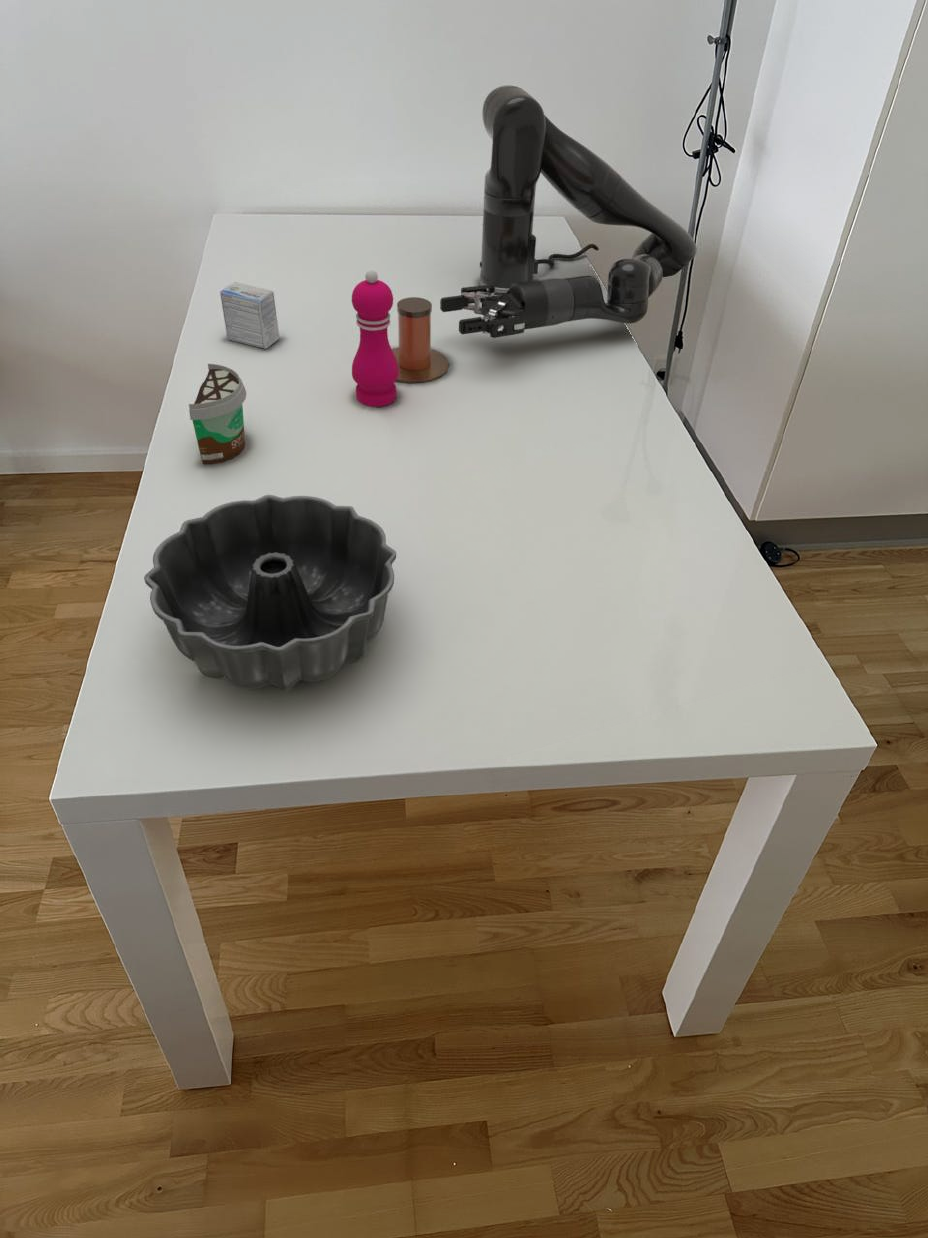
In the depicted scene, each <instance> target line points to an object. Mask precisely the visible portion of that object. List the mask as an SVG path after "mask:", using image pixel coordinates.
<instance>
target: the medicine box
mask: <svg viewBox="0 0 928 1238" xmlns="http://www.w3.org/2000/svg"><path fill="white" fill-rule="evenodd" d="M274 292H275V291H273V290H270V289H267V288H263V287H259V286H254V285H249V284H246V283H241V282H236V281H235V282H233V283H231V284H228V285H227V286H226V287H224V288H223V289H222V290H220V291H219V295H220V299H221V300H220V301H221V309H222V313H223V321H224V326H225V333H226V338H227V340H229V341H233V342H237V343H242V344H245V345H249V346H253V347H257V348H261V349H265V350H267V349H268V348H270V347H271V346H272V345H273V344H275V343H276V342H277V341H279V340H280V330H279V323H278V316H277V308H276V299H275V293H274Z"/></svg>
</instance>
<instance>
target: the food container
mask: <svg viewBox="0 0 928 1238" xmlns="http://www.w3.org/2000/svg"><path fill="white" fill-rule="evenodd" d="M207 368H208V372H207V375H206V377H205V379H204V380H203V382H202V383H201V385H200V386H199V390H198V393H197V396H196V398H195V400H194V403H189V404H188V407H189V409H188V411H189V420H190V421H192V425H193V429H194V433H195V437H196V442H197V446H198V450H199V455H200V459H201V463H202V465H214V464H221V463H224V462H228V461H230V460H233V459H234V458H236V457H238V456H239V455H241V454H242V452H244V450H245V447H246V437H245V436H246V435H245V422H244V406H243V403H244V402H245V400H246V398H247V390H246V387H245V385H244V383H243V380H242V378H241V377H240V376H239V373H237V372H236V370H234V369H232V368H230V367H228V366H225V365H221V364H215V363H207Z"/></svg>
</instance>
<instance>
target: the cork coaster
mask: <svg viewBox="0 0 928 1238" xmlns="http://www.w3.org/2000/svg"><path fill="white" fill-rule="evenodd" d="M391 349H392V351H393V353H394V355H395V357H396V360H397V363H398V368H399V376H398V379H397V380H396V382H399V383H403V384H404V383H406V384H420V383H428V382H431V381H434V380H438V379H440V378H442V377H443V376H444V375H445V374H446V373H447V372H448V370H449V368H450V362H449V359H448V358H447V356H445V354H443V353H442V352H440V351H437V350H435V349H433V348H431V363H430V365H429V367H427V368H425V369H422V370H408V369H405V368H403V367H401V366H400V364H399V347H394V348H391Z"/></svg>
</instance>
